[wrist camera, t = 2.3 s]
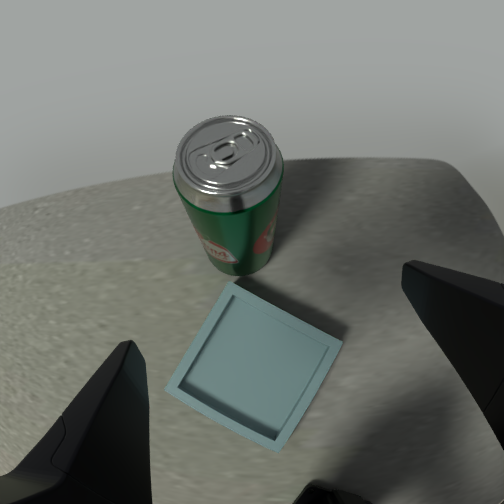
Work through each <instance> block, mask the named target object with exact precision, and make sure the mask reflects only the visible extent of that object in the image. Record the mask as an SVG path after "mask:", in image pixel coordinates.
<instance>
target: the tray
mask: <svg viewBox="0 0 504 504" xmlns="http://www.w3.org/2000/svg"><path fill="white" fill-rule="evenodd" d="M342 343H343V342H342V341H340V340H338V339H336V338H334V337H332V336H330V335H328V334H327V333H325V332H323V331H321V330H319V329H317V328H315V327H313V326H311V325H309V324H307V323H306V322H304V321H302V320H300V319H298V318H296V317H294V316H292V315H291V314H289V313H287V312H285V311H283V310H281V309H279V308H278V307H276V306H274V305H272V304H270V303H268V302H267V301H265V300H263V299H261V298H259V297H257V296H256V295H254V294H252V293H250V292H248V291H247V290H245V289H243V288H241V287H239V286H238V285H236V284H234V283H232V282H230V281H229V282H228V283H227V285H226V287H225V288H224V290H223V292H222V293H221V295H220V297H219V298H218V300H217V302H216V303H215V305H214V307H213V308H212V310H211V312H210V313H209V315H208V317H207V318H206V320H205V322H204V323H203V325H202V327H201V328H200V330H199V332H198V333H197V335H196V337H195V338H194V340H193V342H192V343H191V345H190V347H189V348H188V350H187V352H186V354H185V355H184V357H183V359H182V360H181V362H180V364H179V365H178V367H177V369H176V370H175V372H174V374H173V375H172V377H171V379H170V380H169V382H168V384H167V385H166V387H165V389H164V390H165V391H166V392H168V393H169V394H171V395H173V396H174V397H176V398H177V399H179V400H180V401H182V402H184V403H185V404H187V405H188V406H190V407H192V408H193V409H195V410H197V411H198V412H200V413H202V414H203V415H205V416H207V417H209V418H210V419H212V420H214V421H216V422H217V423H219V424H221V425H223V426H225V427H226V428H228V429H230V430H232V431H234V432H236V433H238V434H240V435H242V436H244V437H246V438H248V439H250V440H252V441H254V442H256V443H258V444H260V445H262V446H264V447H266V448H268V449H270V450H273V451H275V452H277V453H279V452H280V450H281V449H282V447H283V446H284V444H285V443H286V441H287V440H288V438H289V437H290V435H291V434H292V432H293V430H294V429H295V427H296V426H297V424H298V422H299V421H300V419H301V418H302V416H303V414H304V413H305V411H306V409H307V408H308V406H309V404H310V402H311V401H312V399H313V397H314V396H315V394H316V392H317V390H318V389H319V387H320V385H321V383H322V381H323V380H324V378H325V376H326V374H327V372H328V370H329V369H330V367H331V365H332V363H333V361H334V359H335V357H336V355H337V353H338V351H339V349H340V347H341V345H342Z"/></svg>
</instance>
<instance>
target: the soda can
mask: <svg viewBox="0 0 504 504" xmlns="http://www.w3.org/2000/svg"><path fill="white" fill-rule="evenodd" d="M283 172H284V163H283V158H282V155H281V152H280V150H279V148H278V147H277V145H276V144H275V142H274V139H273V137H272V136H271V134H270V133H269V132H268V130H267V129H266V128H265V127H263V126H262V125H261V124H259V123H257V122H256V121H253V120H251V119H249V118H245V117H241V116H231V115H229V116H228V115H227V116H219V117H214V118H210V119H207V120H205V121H203V122H201V123H199V124H197V125H196V126H194V127H193V128H192V129H190V130H189V131H188V132H187V133H186V134H185V136H184V137H183V138H182V140H181V141H180V143H179V145H178V148H177V151H176V159H175V162H174V165H173V182H174V185H175V188H176V190H177V192H178V194H179V197H180V199H181V201H182V203H183V205H184V207H185V209H186V212H187V214H188V216H189V218H190V220H191V222H192V224H193V226H194V228H195V231H196V233H197V235H198V237H199V239H200V241H201V243H202V245H203V247H204V249H205V251H206V253H207V255H208V257H209V259H210V261H211V262H212V264H213V265H214V266H215V267H216V268H217V269H218V270H220V271H221V272H223V273H226V274H228V275H232V276H245V275H249V274H252V273H254V272H256V271H258V270H259V269H261V268H262V267H263V266H264V265H265V264H266V263H267V261H268V260H269V258H270V255H271V253H272V249H273V242H274V235H275V229H276V222H277V215H278V208H279V201H280V194H281V187H282V180H283Z"/></svg>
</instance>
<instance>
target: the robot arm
mask: <svg viewBox="0 0 504 504" xmlns="http://www.w3.org/2000/svg"><path fill="white" fill-rule="evenodd" d="M401 285H402V289H403V291H404V293H405V294H406V296H407V298H408V299H409V301H410V303H411V304H412V306H413V308H414V309H415V311H416V313H417V314H418V316H419V318H420V319H421V321H422V322H423V324H424V325H425V327H426V328H427V330H428V331H429V332H430V334H431V335H432V337H433V338H434V339H435V341H436V342H437V344H438V345H439V346H440V348H441V349H442V351H443V352H444V354H445V355H446V356H447V358H448V359H449V361H450V362H451V364H452V365H453V367H454V368H455V370H456V371H457V373H458V374H459V376H460V377H461V379H462V380H463V382H464V383H465V385H466V387H467V388H468V390H469V391H470V393H471V394H472V396H473V398H474V399H475V401H476V403H477V404H478V406H479V407H480V409H481V411H482V412H483V414H484V416H485V418H486V420H487V421H488V423H489V425H490V426H491V428H492V430H493V432H494V433H495V435H496V437H497V439H498V441H499V443H500V444H501V446H502V448H503V450H504V284H502V283H501V284H500V283H498V282H495V281H491V280H488V279H484V278H481V277H477V276H473V275H470V274H466V273H462V272H459V271H455V270H451V269H447V268H443V267H440V266H436V265H432V264H428V263H424V262H420V261H416V260H412V261H409V262H406V263H404V265H403V268H402V282H401ZM310 489H314V490H313V491H312V492H308V491H309V490H310ZM0 504H152V491H151V474H150V445H149V396H148V386H147V375H146V363H145V360H144V357H143V356H142V354H141V352H140V351H139V349H138V347H137V345H136V344H135V342H134V341H132V340H128V341H123V342H120V343H119V345H118V346H117V347H116V348H115V349H114V350H113V352H112V353H111V354H110V355H109V356H108V358H107V359H106V360H105V361H104V362H103V364H102V365H101V366H100V367H99V368H98V370H97V371H96V372H95V373H94V375H93V376H92V377H91V378H90V379H89V381H88V382H87V383H86V384H85V386H84V387H83V388H82V389H81V391H80V392H79V393H78V394H77V395H76V397H75V398H74V399H73V400H72V402H71V403H70V404H69V405H68V407H67V408H66V409H65V411H64V412H63V413H62V416H60V417H59V418H58V419H57V421H56V422H55V423H54V424H53V426H52V427H51V428H50V429H49V431H48V432H47V433H46V434H45V435H44V437H43V438H42V439H41V440H40V441H39V442H38V443H37V445H36V446H35V447H34V448H33V449H32V450H31V451H30V452H29V453H28V454H27V456H26V457H25V458H24V459H23V460H22V461H21V462H20V463H19V464H18V466H17V467H16V468H15V469H14V470H12V471H11V472H9V473H7V474H5V475H3V476H0ZM293 504H372V503H371V502H368V501H365V500H363V499H362V498H361V497H360V496H357V495H354V494H350V493H347V492H344V491H341V490H337V489H335V490H332V491H330V490H327V489H324V488H322V487H319V486H316V485H312V484H311V485H308V486H306V487H305V488H304V490H303V491H302V492H301V494H300V495H299V496H298V498H297V499H296V500H295V501H294V503H293ZM501 504H504V501H503V502H502V503H501Z"/></svg>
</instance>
